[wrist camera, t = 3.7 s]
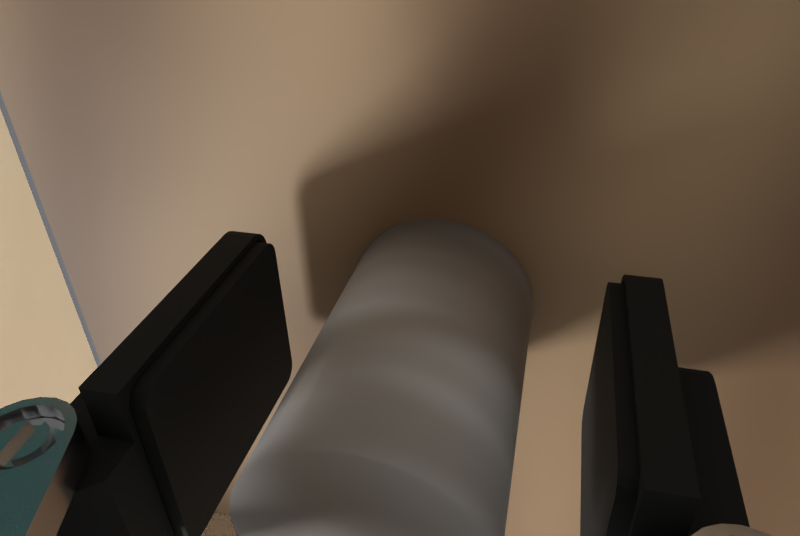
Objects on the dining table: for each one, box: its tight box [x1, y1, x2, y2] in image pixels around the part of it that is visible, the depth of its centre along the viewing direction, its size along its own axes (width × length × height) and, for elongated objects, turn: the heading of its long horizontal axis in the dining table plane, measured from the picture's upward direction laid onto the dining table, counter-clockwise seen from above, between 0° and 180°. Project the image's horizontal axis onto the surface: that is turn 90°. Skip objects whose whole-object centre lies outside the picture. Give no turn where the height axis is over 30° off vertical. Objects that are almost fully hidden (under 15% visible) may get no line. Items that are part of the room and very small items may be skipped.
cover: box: [0, 0, 800, 536], centre depth 10 cm, size 16×16×6 cm
